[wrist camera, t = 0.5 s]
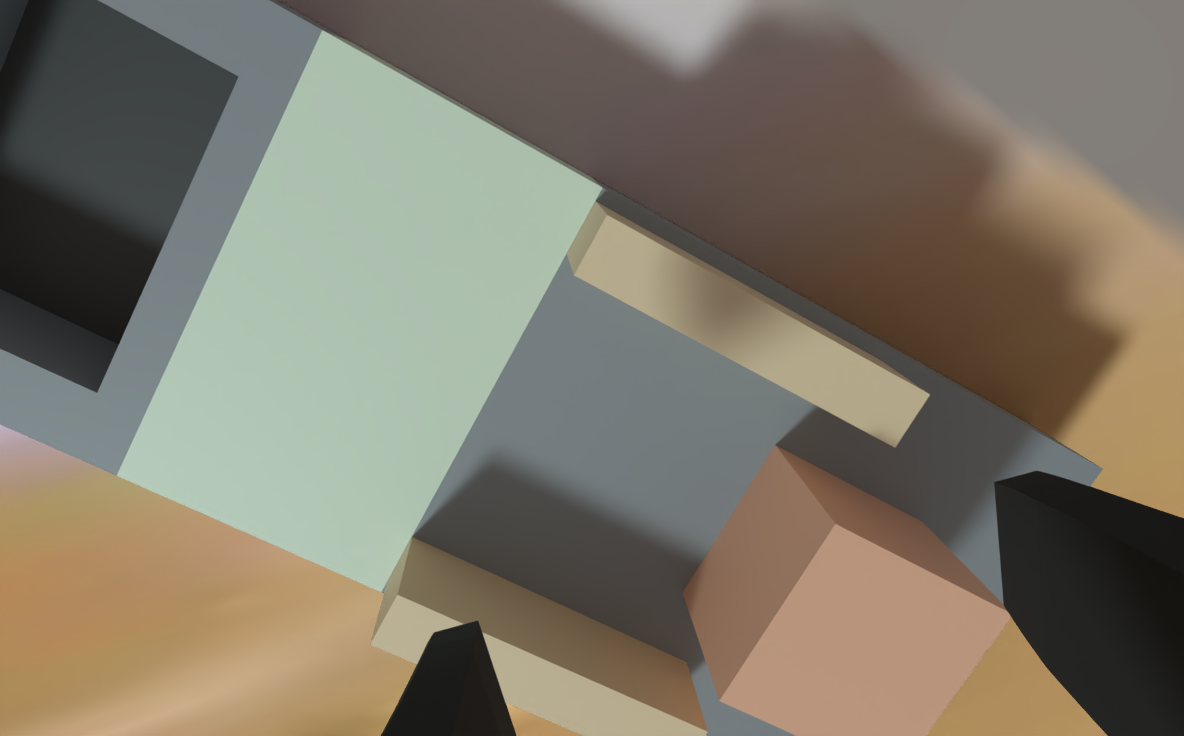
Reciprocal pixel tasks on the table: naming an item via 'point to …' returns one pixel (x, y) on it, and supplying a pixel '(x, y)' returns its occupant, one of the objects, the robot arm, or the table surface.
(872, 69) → the table surface
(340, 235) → the pale green block
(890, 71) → the table surface
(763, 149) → the table surface
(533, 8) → the table surface
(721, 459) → the deck
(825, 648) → the terracotta block
